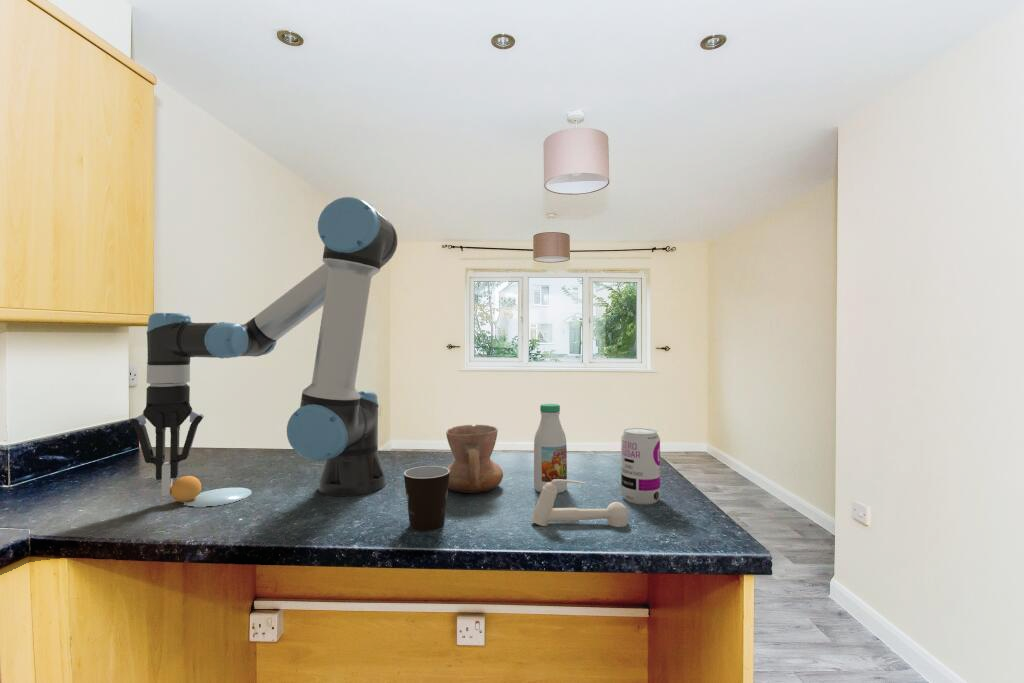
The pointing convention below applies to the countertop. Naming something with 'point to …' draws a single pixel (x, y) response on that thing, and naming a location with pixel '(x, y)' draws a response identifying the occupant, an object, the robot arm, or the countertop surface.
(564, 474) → the milk bottle
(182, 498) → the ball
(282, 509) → the countertop surface
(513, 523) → the countertop surface
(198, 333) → the robot arm
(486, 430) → the ceramic jug
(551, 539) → the countertop surface
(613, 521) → the faucet
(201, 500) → the disc
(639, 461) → the supplement can
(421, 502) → the brown cup
